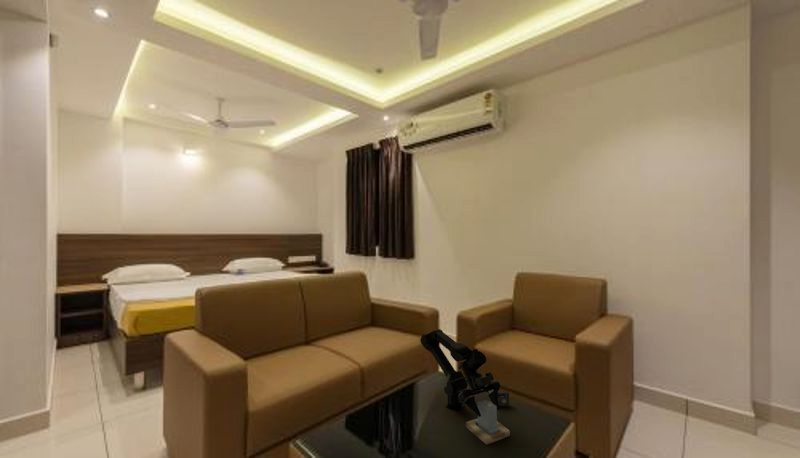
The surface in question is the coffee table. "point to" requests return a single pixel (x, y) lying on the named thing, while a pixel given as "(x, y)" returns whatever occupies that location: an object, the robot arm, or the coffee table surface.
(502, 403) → the mini dv tape
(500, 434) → the plate
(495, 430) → the servo
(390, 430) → the coffee table surface
